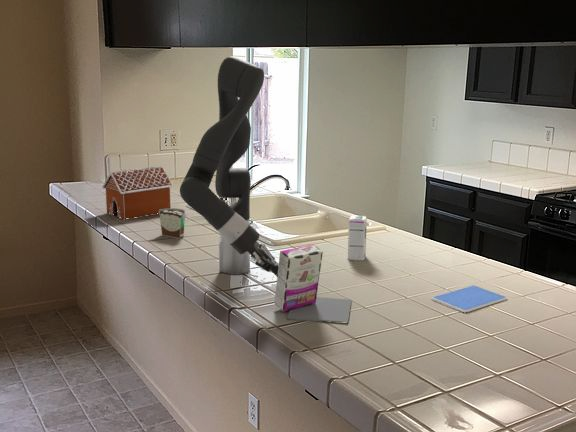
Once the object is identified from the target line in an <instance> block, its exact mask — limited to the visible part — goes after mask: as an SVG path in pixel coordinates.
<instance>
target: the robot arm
mask: <svg viewBox="0 0 576 432" xmlns="http://www.w3.org/2000/svg"><path fill="white" fill-rule="evenodd" d="M218 69H219V70H218V74H217V94H218V105H219V114H218V115H219V116H218V121H217V122H216V123H214V124H213V125H212V126H210V127H209V128H208V129H207V130H206V131H205V133H204V134H203V135H202V137H201V139H200V141H199V143H198V145H197V148H196V150H195V152H194V155H193V158H192V162H191V165H190V167H189V169H187V170H188V171H187V173H186V175H185V176H184V178H183V181H182V183H181V184H180V186H179V187H180V188H179V195H180V197H181V199H182V200H183V201H184V202H185V203H186V204H187V205H188V206H189V208H191V209H193V211H195V212H196V213H197V214H199V215H201V216H202V217H203V218H204V219H205V220H206V222H208V224H209V225H210V226H211V227H212V228H214V229H215V231H217V232H218V233H219V235H220V242H219V243H218V254H219V255H218V256H219V257H218V262H219V263H218V266H219V269H218V270H219V272H220V273H223V274H227V275H242V274H246V273H248V272H249V271H250V269H251V268H250V267H251V263H250V262H251V259H252V260H253V261H255V265H256V266H258V267H260V268H261V269H263V270H264V271H266V272H267V273H269V272H272V273H273V274H274V275H275V276H276V277H277V276H278V267H279V264H278V263H277V261H276V259H275V257H274V256H273V254H272V253H271V251H270V250H269V249H268V248H267V246H266V245H265V244H263V243H260V242H259V241H258V240H259V238H260V233H259V232H258V231H257V230H256V229H255V228H254V227H253V226H252V225H251V223H250V219H251V218H250V216H251V215H250V214H251V213H250V209H251V208H250V203H251V202H250V200H251V183H252V182H251V173H250V171H249V169H248V168H246V167H245V168H244V167H242V168H241V167H240V168H238V167H237V168H235V167H234V168H233V167H232V166H233V165H235V163H237V162H238V161H239V160H240V159H241V158H242V157H243V156H244V155H245V154H246V152H247V151H248V150H249V148H250V146H251V145H250V144H251V133H252V126H251V122H250V120H249V118H248V113H249V110H250V109H251V108H252V106H253V104H254V102H255V101H256V99H257V97H258V96H259V94H260V91H261V89H262V87H263V85H264V81H265V72H264V69H263V68H262V67H259V66H257V65H255V64H253V63H251V62H248V61H246V60H244V59H241V58H239V57H236V56H232V55H231V56H227V57H226V58H224V59H223V61H222V62H221V63H220V66H219V68H218ZM214 175H215V179H214V180H215V181H214V182H215V184H214V188H215V192H213V190H212V189H210V186H211V182H212V180H213V177H214ZM221 198H224V199H236V198H237V199H238V200H237V201H236V202H234V203H233V204H231V205H229V204H228V202H226V201H224V200H223V199H221ZM250 258H251V259H250Z"/></svg>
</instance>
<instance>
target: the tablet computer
mask: <svg viewBox="0 0 576 432" xmlns="http://www.w3.org/2000/svg"><path fill="white" fill-rule="evenodd" d="M431 300H432V301H433V302H435V301H436V302H435V303H437V302H438V304H440V303H441V304H440V305H442V304H443V306H445V307H447V306H448V307H447V308H450V307H451V308H450V309H452V308H454V309H453V310H455V309H456V310H455V311H457V310H459V311H458V312H460V311H461V312H460V313H463V312H464V314H465V313H466V312H467V313H469V312H473V311H475V310H479V309H481V308H484V307H488V306H491V305H493V304H498V303H501V302H504V301H507V300H508V297H506V296H504V295H501V294H500V293H496V292H493V291H491V290H488V289H486V288H483V287H481V286H477V285H470V286H466V287H463V288H459V289H456V290H453V291H449V292H446V293H442V294H438V295H435V296H432V297H431ZM467 313H466V314H467Z"/></svg>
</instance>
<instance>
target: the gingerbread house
mask: <svg viewBox="0 0 576 432" xmlns="http://www.w3.org/2000/svg"><path fill="white" fill-rule="evenodd" d="M173 186H174V184H173V183H172V180H171V179H170V177H169V175H168V174H167V171H166V170H165V168H164V167H163V166H162V165H157V166H156V165H155V166H154V165H153V166H145V167H141V168H138V167H137V168H128V169H121V170H115V171H111V172H109V173H108V175H107V177H106V179H105V180H104V181H103V184H102V186H101V187H102V189H103V190H104V189H105V203H106V214H107V213H110V214H112V215H113V214H116V213H115V212H117V211H118V212H117V218H118V217H121V218H123V219H126V218H133V219H135V218H134V217H139V218H141V217H140V216H145V215H151V214H156V215H158V214H157V213H159V210H160V209H166V208H172V206H171V205H172V204H171V188H172V187H173ZM110 214H109V215H110ZM112 215H111V216H112ZM113 216H114V215H113ZM151 216H152V215H151ZM145 217H146V216H145ZM123 219H122V220H123Z"/></svg>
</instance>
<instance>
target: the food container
mask: <svg viewBox="0 0 576 432" xmlns="http://www.w3.org/2000/svg"><path fill="white" fill-rule="evenodd" d="M157 215H159V223H160V230H161V236H164V235H165V236H164V237H168V236H169V238H174V239H179V240H181V239H183V238H184V236H185V224H186V223H185V220H186V218H188V217H187V212H186V210H184V209H183V208H175V207H171V208H166V209H160V210H159V213H158V214H157Z"/></svg>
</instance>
